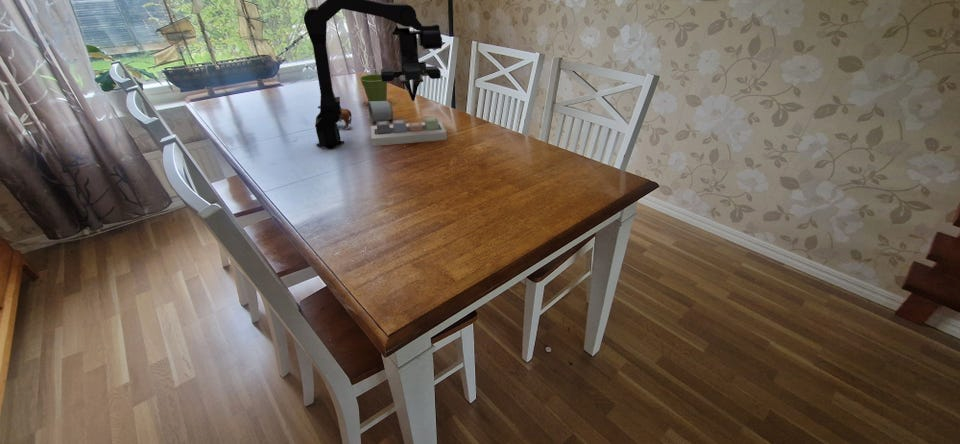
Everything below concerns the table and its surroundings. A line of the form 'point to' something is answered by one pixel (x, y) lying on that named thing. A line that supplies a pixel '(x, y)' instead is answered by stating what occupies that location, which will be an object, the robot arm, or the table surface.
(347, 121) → the bull figurine
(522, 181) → the table surface
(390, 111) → the ceramic mug
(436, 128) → the key sage
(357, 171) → the table surface
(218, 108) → the table surface
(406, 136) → the keypad
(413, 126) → the key terracotta
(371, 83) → the plant pot
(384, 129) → the key charcoal
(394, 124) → the key slate
